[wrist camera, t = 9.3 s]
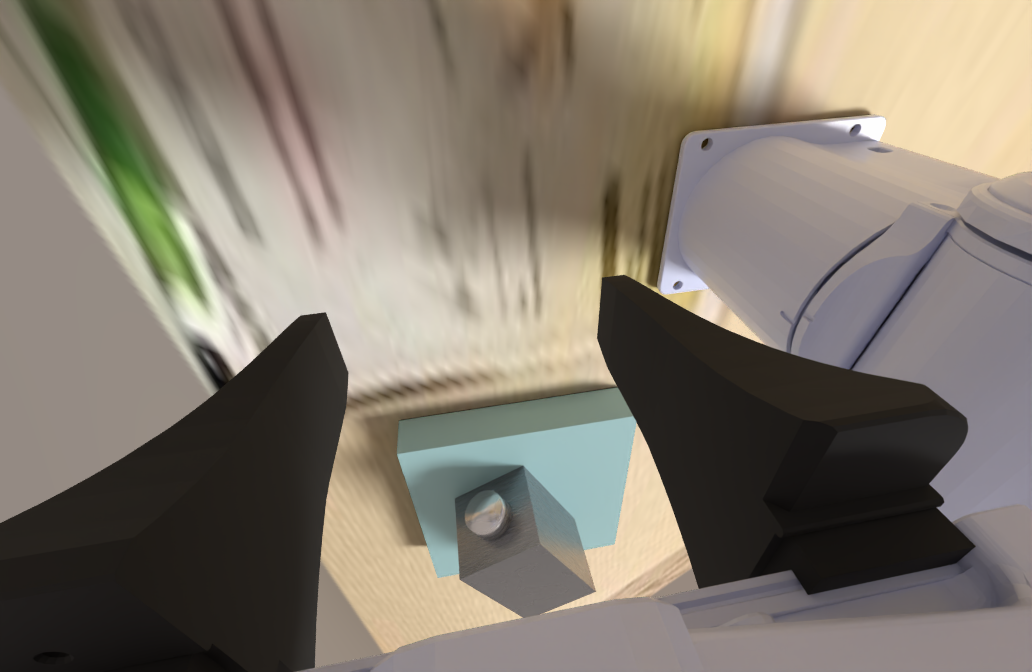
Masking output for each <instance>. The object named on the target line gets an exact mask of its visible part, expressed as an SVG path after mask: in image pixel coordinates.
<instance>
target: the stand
mask: <svg viewBox="0 0 1032 672" xmlns="http://www.w3.org/2000/svg"><path fill="white" fill-rule="evenodd" d="M635 428H636V420H635V419H634V417H633V415H632V413H631V411H630V409H629V407H628V405H627V404H626V402H625V400H624V398H623V396H622V394H621V392H620V391H619V389H618V387H616V388H610V389H603V390H597V391H590V392H584V393H577V394H571V395H564V396H557V397H551V398H544V399H538V400H531V401H525V402H518V403H512V404H505V405H499V406H492V407H485V408H479V409H472V410H466V411H459V412H453V413H446V414H440V415H433V416H427V417H420V418H413V419H407V420H400V421H399V426H398V443H397V456H398V459H399V462H400V465H401V468H402V471H403V474H404V477H405V480H406V483H407V486H408V489H409V492H410V495H411V498H412V501H413V504H414V507H415V510H416V513H417V516H418V519H419V523H420V526H421V529H422V532H423V535H424V538H425V541H426V544H427V547H428V550H429V553H430V556H431V559H432V562H433V565H434V568H435V571H436V574H437V577H438V578H440V577H445V576H450V575H456V574H459V560H458V544H457V528H456V511H455V498H456V497H459V496H461V495H463V494H465V493H467V492H469V491H471V490H473V489H475V488H477V487H479V486H481V485H484V484H486V483H488V482H490V481H492V480H494V479H496V478H498V477H500V476H502V475H504V474H507V473H509V472H511V471H513V470H515V469H517V468H519V467H521V466H523V465H524V467H525V468H526V469H527V470H528V471H529V472H530V473H531V474H532V475H533V476H534V477H535V478H536V479H537V480H538V481H539V482H540V483H541V484H542V485H543V486H544V487H545V488H546V489H547V490H548V492H549V493H550V494H551V495H552V496H553V497H554V498H555V499H556V500H557V501H558V502H559V503H560V504H561V505H562V506H563V507H564V508H565V509H566V510H567V511H568V512H569V513H570V514H571V515H572V516H573V518H574V519H575V522H576V525H577V529H578V532H579V535H580V539H581V542H582V546H583V549H584V550H587V549H592V548H597V547H603V546H608V545H613V544H615V539H616V533H617V528H618V522H619V517H620V511H621V505H622V500H623V494H624V489H625V483H626V478H627V472H628V466H629V461H630V455H631V450H632V444H633V439H634V433H635Z"/></svg>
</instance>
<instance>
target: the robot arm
mask: <svg viewBox="0 0 1032 672" xmlns="http://www.w3.org/2000/svg"><path fill="white" fill-rule="evenodd" d="M885 125H886V119H885V118H884V117H883V116H880V115H864V116H853V117H842V118H831V119H820V120H810V121H799V122H788V123H777V124H766V125H756V126H745V127H734V128H723V129H712V130H702V131H693V132H690V133H689V134H687V135H686V136H685V138H684V139H683V141H682V144H681V149H680V154H679V160H678V166H677V172H676V178H675V183H674V189H673V195H672V201H671V206H670V212H669V218H668V224H667V230H666V235H665V241H664V247H663V253H662V258H661V264H660V270H659V276H658V282H657V288H658V290H659V291H660V292H661V293H662V294H673V293H680V292H688V291H696V290H703V289H711V290H712V291H713V292H714V293H715V294H716V295H717V296H718V297H719V298H720V299H721V300H722V301H723V302H724V303H725V304H726V305H727V306H728V307H729V308H730V309H731V310H732V311H733V312H734V314H735V315H736V316H737V317H738V318H739V319H740V320H741V321H742V322H743V323H744V324H745V325H746V326H747V327H748V328H749V329H750V330H751V331H752V332H753V333H754V334H755V335H756V336H757V337H758V338H759V339H760V340H761V341H762V342H763V343H764V344H765V345H764V344H761V343H758V342H756V341H753V340H751V339H748V338H746V337H743V336H741V335H738V334H736V333H733V332H731V331H729V330H726V329H724V328H722V327H720V326H718V325H716V324H713V323H711V322H709V321H707V320H705V319H703V318H701V317H699V316H697V315H695V314H694V313H692V312H690V311H688V310H686V309H684V308H682V307H681V306H679V305H677V304H675V303H673V302H672V301H670V300H668V299H666V298H665V297H663V296H661V295H659V294H658V293H656V292H654V291H653V290H651V289H649V288H648V287H646V286H644V285H642V284H641V283H639V282H637V281H635V280H633V279H632V278H630V277H628V276H625V275H620V276H612V277H604V278H602V287H601V299H600V311H599V323H598V334H597V339H598V342H599V345H600V348H601V351H602V354H603V357H604V359H605V362H606V365H607V367H608V369H609V371H610V373H611V375H612V377H613V379H614V381H615V383H616V385H617V387H618V389H619V391H620V392H621V394H622V396H623V398H624V400H625V402H626V404H627V405H628V407H629V409H630V411H631V413H632V415H633V417H634V419H635V420H636V422H637V424H638V426H639V428H640V430H641V432H642V434H643V436H644V438H645V440H646V442H647V444H648V446H649V449H650V451H651V454H652V456H653V459H654V461H655V464H656V467H657V469H658V472H659V474H660V477H661V479H662V482H663V485H664V487H665V490H666V493H667V495H668V498H669V501H670V503H671V506H672V509H673V512H674V514H675V517H676V520H677V523H678V526H679V529H680V532H681V535H682V538H683V541H684V544H685V547H686V550H687V553H688V556H689V559H690V562H691V565H692V569H693V572H694V575H695V578H696V581H697V584H698V587H699V589H696V590H691V591H686V592H682V593H676V594H672V595H667V596H662V597H657V598H650V597H637V598H625V599H614V600H609V601H604V602H599V603H594V604H589V605H584V606H579V607H575V608H570V609H565V610H560V611H555V612H550V613H545V614H540V615H535V616H530V617H526V618H521V619H516V620H511V621H506V622H501V623H496V624H491V625H486V626H481V627H476V628H472V629H467V630H462V631H457V632H452V633H447V634H442V635H437V636H434V637H430V638H427V639H424V640H421V641H418V642H415V643H412V644H408V645H405V646H402V647H399V648H398V649H397V650H395V651H394V652H389V653H384V654H380V655H375V656H370V657H365V658H360V659H356V660H351V661H346V662H341V663H336V664H331V665H326V666H321V667H317V668H315V643H316V641H315V640H316V616H317V600H318V583H319V582H318V581H319V568H320V557H321V545H322V534H323V525H324V516H325V506H326V498H327V492H328V487H329V481H330V477H331V473H332V468H333V464H334V459H335V455H336V450H337V446H338V442H339V437H340V433H341V428H342V424H343V419H344V414H345V409H346V402H347V389H348V371H347V368H346V365H345V363H344V360H343V357H342V355H341V352H340V349H339V347H338V344H337V341H336V338H335V336H334V333H333V330H332V328H331V325H330V322H329V320H328V317H327V314H326V313H318V314H310V315H302V316H300V317H299V318H297V319H296V320H295V321H294V322H293V323H292V324H291V325H289V326H288V327H287V328H286V329H285V330H284V331H283V332H282V333H281V334H280V335H279V336H278V337H277V338H276V339H275V340H274V341H273V342H272V343H271V344H270V345H269V346H268V347H267V348H265V349H264V350H263V351H262V352H261V353H260V354H259V355H258V356H257V357H256V358H255V359H254V360H253V361H252V362H251V363H250V364H249V365H247V366H246V367H245V368H244V369H243V370H242V371H241V372H239V373H238V374H237V375H236V376H235V377H234V378H233V379H231V380H230V381H229V382H228V383H227V384H226V385H224V386H223V387H222V388H221V389H220V390H219V391H218V392H216V393H215V394H214V395H213V396H212V397H210V398H209V399H208V400H207V401H205V402H204V403H203V404H201V405H200V406H199V407H197V408H196V409H195V410H193V411H192V412H191V413H189V414H188V415H187V416H185V417H184V418H183V419H181V420H180V421H178V422H177V423H176V424H174V425H173V426H171V427H170V428H168V429H167V430H166V431H164V432H162V433H161V434H160V435H158V436H156V437H155V438H153V439H152V440H150V441H148V442H147V443H145V444H144V445H142V446H141V447H139V448H137V449H136V450H134V451H133V452H131V453H130V454H128V455H127V456H125V457H124V458H122V459H120V460H119V461H117V462H115V463H113V464H112V465H110V466H108V467H107V468H105V469H103V470H101V471H100V472H98V473H96V474H95V475H93V476H91V477H89V478H88V479H86V480H84V481H82V482H80V483H78V484H77V485H74V486H73V487H71V488H69V489H67V490H65V491H64V492H62V493H60V494H58V495H56V496H54V497H52V498H50V499H48V500H46V501H44V502H43V503H41V504H39V505H37V506H35V507H32V508H30V509H28V510H26V511H24V512H22V513H20V514H18V515H16V516H14V517H12V518H10V519H8V520H6V521H4V522H2V523H0V672H1032V172H1022V173H1017V174H1014V175H1011V176H1009V177H1006V178H1003V179H999V178H996V177H993V176H989V175H986V174H983V173H980V172H977V171H973V170H970V169H967V168H964V167H960V166H957V165H954V164H951V163H947V162H944V161H941V160H938V159H934V158H931V157H928V156H925V155H921V154H918V153H915V152H912V151H909V150H905V149H902V148H899V147H896V146H892V145H889V144H886V143H883V142H879V140H880V138H881V135H882V133H883V131H884V128H885ZM853 126H854V129H853V130H852V132H850V130H851V128H852V127H853ZM707 138H708V144H707V145H706V146H705V147H704V148H702V149H701V144H702V142H703V141H704V140H705V139H707ZM678 281H679V283H678V284H677V285H675V286H673V285H674V284H675V283H676V282H678Z"/></svg>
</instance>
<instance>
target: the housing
mask: <svg viewBox="0 0 1032 672" xmlns="http://www.w3.org/2000/svg"><path fill="white" fill-rule="evenodd" d="M455 511H456V528H457V544H458V560H459V576H460V580H461V581H463V582H465V583H466V584H468V585H470V586H471V587H473V588H475V589H476V590H478V591H480V592H481V593H483V594H485V595H486V596H488V597H490V598H491V599H493V600H495V601H496V602H498V603H500V604H501V605H503V606H505V607H506V608H508V609H510V610H511V611H513V612H515V613H516V614H518V615H520V616H521V617H523V618H526V617H530V616H535V615H540V614H542V613H545V612H547V611H550V610H552V609H554V608H557V607H559V606H562V605H564V604H567V603H569V602H572V601H574V600H576V599H579V598H581V597H584V596H586V595H589V594H591V593H594V592H596V590H595V587H594V584H593V580H592V577H591V573H590V570H589V566H588V563H587V560H586V556H585V553H584V549H583V546H582V542H581V539H580V535H579V532H578V529H577V525H576V522H575V519H574V518H573V516H572V515H571V514H570V513H569V512H568V511H567V510H566V509H565V508H564V507H563V506H562V505H561V504H560V503H559V502H558V501H557V500H556V499H555V498H554V497H553V496H552V495H551V494H550V493H549V492H548V490H547V489H546V488H545V487H544V486H543V485H542V484H541V483H540V482H539V481H538V480H537V479H536V478H535V477H534V476H533V475H532V474H531V473H530V472H529V471H528V470H527V469H526V468H525V467H524V465H523V466H521V467H519V468H517V469H515V470H513V471H511V472H509V473H507V474H504V475H502V476H500V477H498V478H496V479H494V480H492V481H490V482H488V483H486V484H484V485H481V486H479V487H477V488H475V489H473V490H471V491H469V492H467V493H465V494H463V495H461V496H459V497H456V498H455Z"/></svg>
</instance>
